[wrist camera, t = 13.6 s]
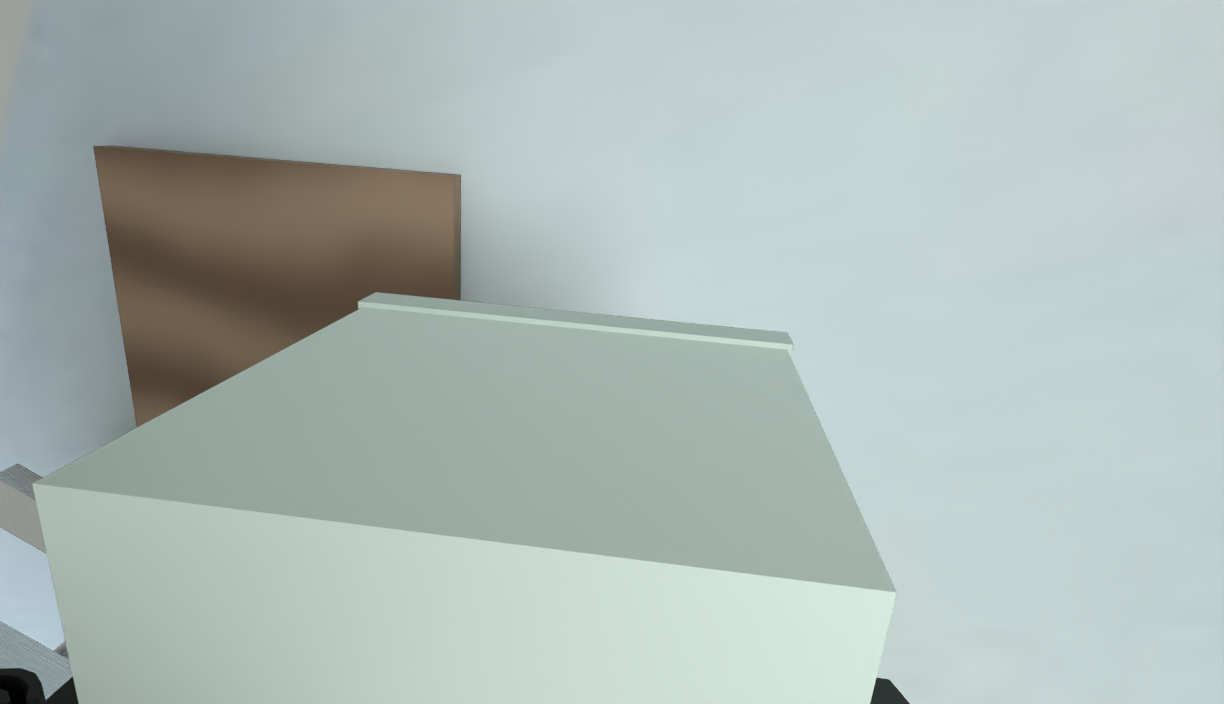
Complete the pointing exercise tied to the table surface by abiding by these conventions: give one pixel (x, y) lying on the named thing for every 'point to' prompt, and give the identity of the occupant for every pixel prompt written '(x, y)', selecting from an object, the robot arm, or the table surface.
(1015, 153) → the table surface
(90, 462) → the pale green block
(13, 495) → the grey t-shaped stand
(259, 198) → the board
